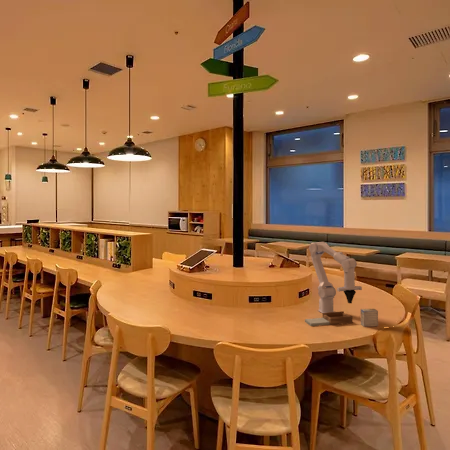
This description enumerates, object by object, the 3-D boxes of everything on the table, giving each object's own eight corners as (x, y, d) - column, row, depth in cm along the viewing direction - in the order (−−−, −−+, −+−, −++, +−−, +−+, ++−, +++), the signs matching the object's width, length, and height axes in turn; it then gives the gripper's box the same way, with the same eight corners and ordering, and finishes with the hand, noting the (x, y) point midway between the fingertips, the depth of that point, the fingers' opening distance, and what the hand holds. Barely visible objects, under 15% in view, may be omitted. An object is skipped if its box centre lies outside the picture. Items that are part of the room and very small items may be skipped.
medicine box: (374, 324, 197) (374, 308, 197) (378, 326, 193) (378, 310, 192) (360, 324, 197) (360, 308, 196) (363, 327, 192) (363, 311, 192)
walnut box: (322, 319, 207) (322, 312, 207) (343, 318, 209) (343, 311, 209) (330, 325, 197) (330, 317, 197) (352, 323, 199) (352, 315, 199)
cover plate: (304, 322, 204) (304, 319, 204) (322, 321, 206) (322, 317, 206) (311, 327, 196) (311, 323, 196) (329, 325, 198) (329, 322, 198)
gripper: (341, 281, 201) (341, 305, 201) (364, 280, 203) (365, 303, 204) (335, 279, 208) (335, 302, 208) (358, 277, 210) (358, 300, 211)
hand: (349, 303), depth 206 cm, fingers closed
